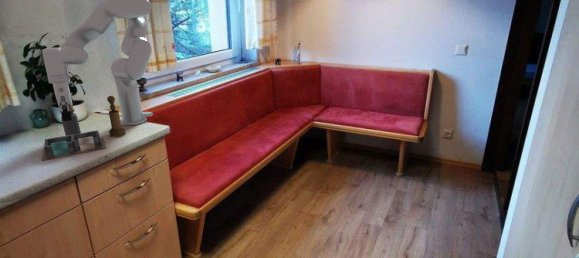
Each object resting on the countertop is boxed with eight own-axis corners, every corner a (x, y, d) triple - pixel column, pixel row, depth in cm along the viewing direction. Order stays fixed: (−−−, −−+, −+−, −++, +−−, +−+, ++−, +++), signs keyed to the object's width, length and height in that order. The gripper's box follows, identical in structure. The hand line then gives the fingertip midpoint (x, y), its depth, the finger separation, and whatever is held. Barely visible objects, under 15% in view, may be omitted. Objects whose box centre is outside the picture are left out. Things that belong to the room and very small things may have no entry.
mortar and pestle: (129, 132, 158) (122, 94, 152) (119, 137, 152) (111, 98, 146) (117, 131, 160) (109, 93, 154) (106, 136, 154) (98, 97, 148)
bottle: (84, 136, 155) (77, 103, 150) (75, 140, 149) (67, 107, 144) (72, 135, 155) (64, 103, 150) (63, 140, 150) (54, 107, 145)
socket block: (103, 138, 152) (100, 126, 150) (106, 148, 141) (103, 135, 139) (43, 148, 141) (40, 136, 140) (42, 161, 130) (38, 147, 128)
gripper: (69, 80, 138) (78, 121, 143) (69, 74, 152) (76, 112, 157) (47, 82, 134) (56, 124, 140) (49, 76, 148) (57, 114, 154)
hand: (67, 117), depth 149 cm, fingers open, 9 cm apart
